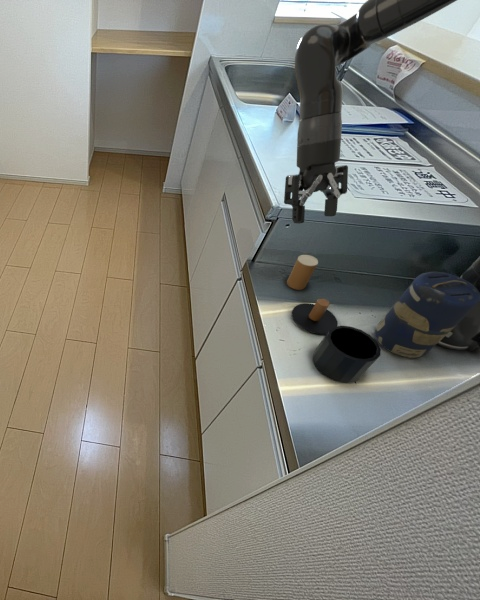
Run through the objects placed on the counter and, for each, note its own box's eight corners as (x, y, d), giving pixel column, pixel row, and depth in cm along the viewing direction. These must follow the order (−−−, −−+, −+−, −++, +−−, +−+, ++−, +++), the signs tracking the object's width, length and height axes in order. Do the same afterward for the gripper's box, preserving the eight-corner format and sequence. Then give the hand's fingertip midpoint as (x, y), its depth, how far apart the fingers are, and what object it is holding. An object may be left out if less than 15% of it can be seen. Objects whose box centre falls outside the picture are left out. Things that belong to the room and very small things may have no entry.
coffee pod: (306, 282, 91) (319, 258, 85) (303, 292, 88) (316, 267, 83) (288, 276, 93) (300, 252, 87) (284, 286, 90) (296, 262, 84)
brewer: (363, 359, 73) (382, 336, 68) (358, 390, 68) (379, 368, 63) (316, 342, 77) (331, 319, 72) (308, 370, 72) (324, 348, 67)
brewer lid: (338, 315, 82) (350, 297, 78) (332, 342, 77) (345, 323, 72) (295, 301, 86) (304, 283, 82) (286, 325, 81) (296, 307, 76)
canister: (433, 363, 71) (502, 301, 58) (381, 357, 73) (437, 296, 60) (412, 328, 78) (470, 266, 65) (364, 324, 79) (411, 263, 67)
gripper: (306, 142, 66) (302, 226, 72) (364, 132, 69) (356, 214, 74) (275, 148, 73) (274, 224, 79) (329, 139, 76) (325, 213, 81)
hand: (314, 219), depth 76 cm, fingers open, 8 cm apart
